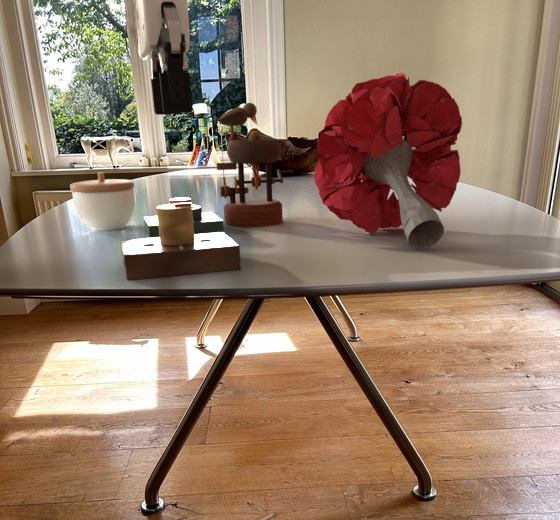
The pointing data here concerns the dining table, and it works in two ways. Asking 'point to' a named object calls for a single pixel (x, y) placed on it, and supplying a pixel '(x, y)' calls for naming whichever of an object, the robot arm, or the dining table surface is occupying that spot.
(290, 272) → the dining table surface
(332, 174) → the bouquet
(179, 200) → the button
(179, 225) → the golden brown short cylinder
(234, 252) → the panel
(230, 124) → the wooden bird automaton
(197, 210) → the button block
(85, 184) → the trinket box
